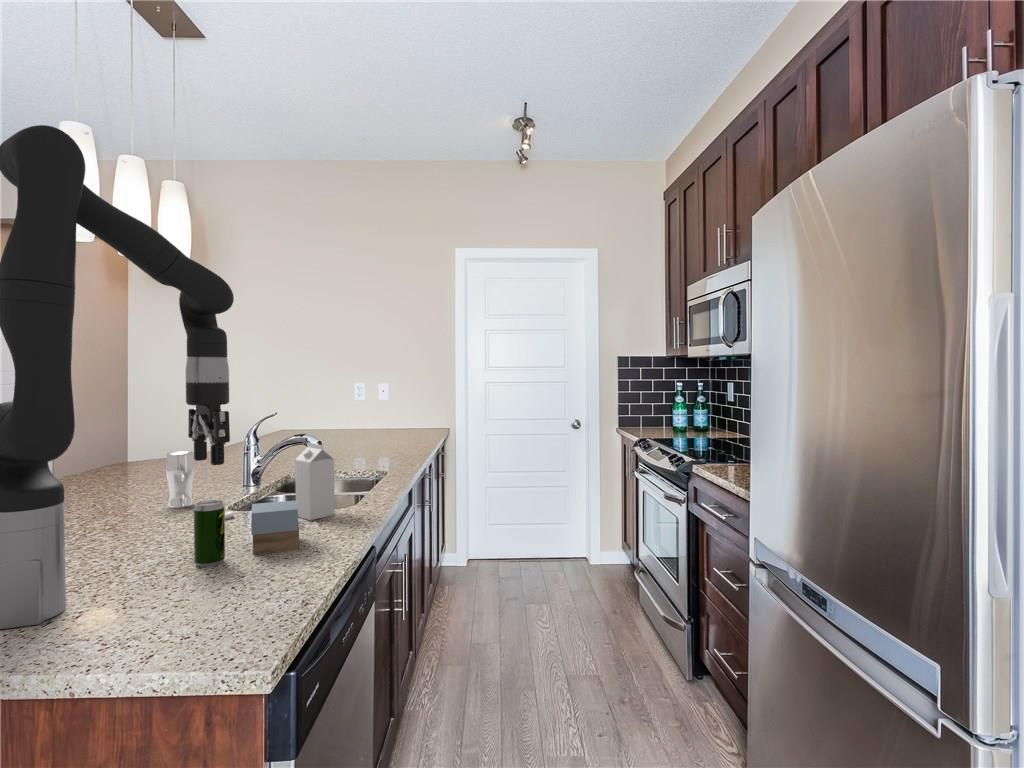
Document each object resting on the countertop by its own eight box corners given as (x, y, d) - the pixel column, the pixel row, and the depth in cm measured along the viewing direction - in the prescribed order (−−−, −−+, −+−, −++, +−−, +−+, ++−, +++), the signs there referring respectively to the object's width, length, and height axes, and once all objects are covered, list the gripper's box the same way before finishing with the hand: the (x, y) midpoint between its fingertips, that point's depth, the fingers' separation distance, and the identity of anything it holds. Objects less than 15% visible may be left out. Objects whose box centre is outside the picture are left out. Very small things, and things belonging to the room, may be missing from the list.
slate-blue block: (297, 530, 119) (297, 509, 119) (251, 535, 116) (251, 513, 116) (295, 520, 127) (295, 500, 127) (252, 524, 124) (252, 504, 124)
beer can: (195, 569, 107) (194, 507, 107) (193, 561, 112) (192, 501, 112) (226, 564, 110) (226, 503, 110) (223, 556, 115) (222, 498, 114)
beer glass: (170, 503, 161) (169, 451, 161) (197, 502, 163) (196, 450, 163) (163, 509, 154) (162, 455, 154) (191, 507, 156) (190, 454, 156)
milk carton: (319, 511, 153) (319, 441, 152) (334, 515, 148) (334, 443, 148) (295, 516, 147) (295, 444, 147) (310, 521, 143) (309, 446, 142)
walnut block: (299, 550, 120) (299, 529, 119) (252, 555, 116) (252, 534, 116) (298, 539, 128) (298, 519, 128) (254, 543, 124) (254, 523, 124)
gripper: (242, 380, 108) (243, 464, 109) (213, 379, 118) (214, 456, 118) (201, 381, 103) (202, 469, 103) (173, 380, 112) (174, 460, 112)
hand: (208, 462), depth 111 cm, fingers open, 8 cm apart
